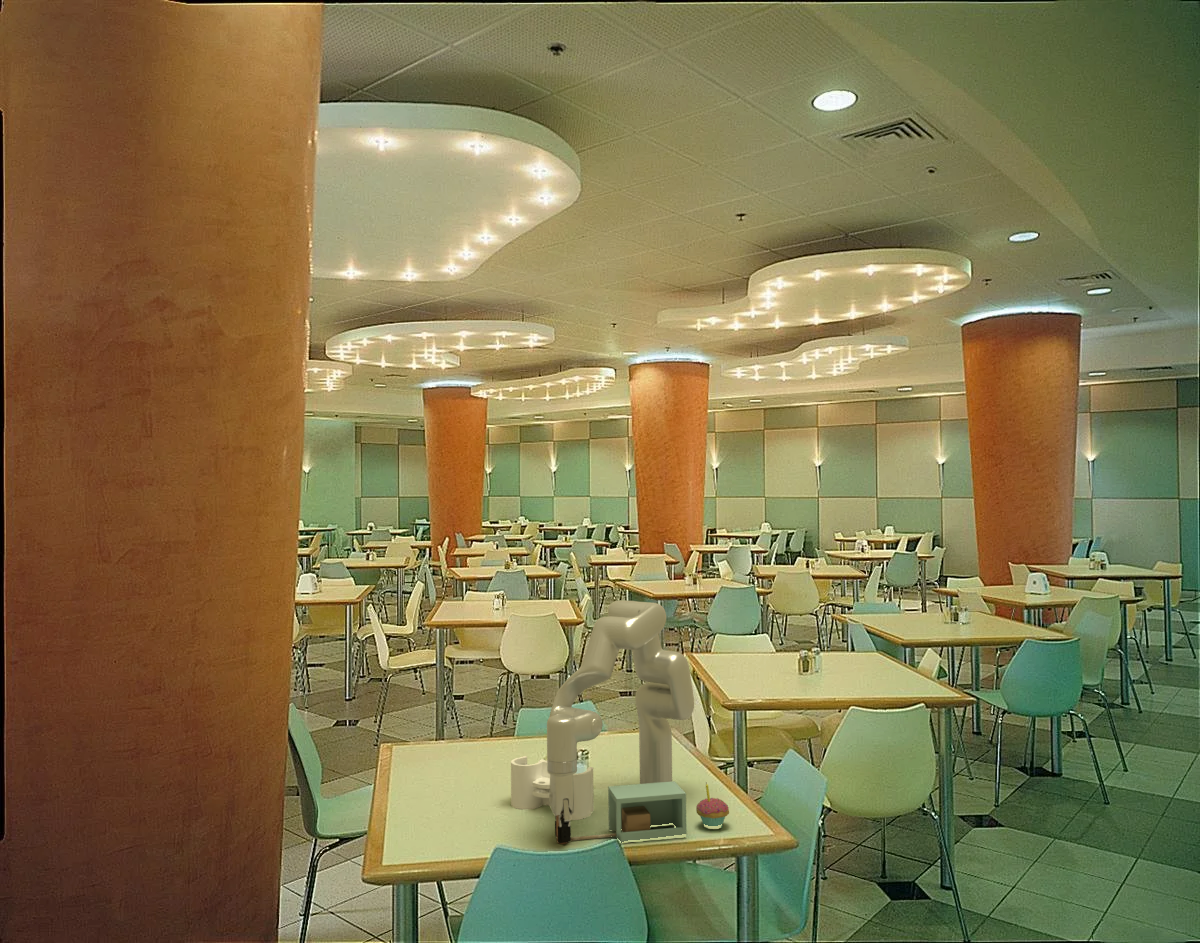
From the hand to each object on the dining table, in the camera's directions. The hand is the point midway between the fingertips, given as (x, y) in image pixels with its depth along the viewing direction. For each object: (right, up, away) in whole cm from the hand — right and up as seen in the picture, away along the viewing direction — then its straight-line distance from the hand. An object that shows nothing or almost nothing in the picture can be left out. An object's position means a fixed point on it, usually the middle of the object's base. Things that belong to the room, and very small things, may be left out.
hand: (562, 838), depth 226 cm
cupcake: (+39, -1, +9) cm, 40 cm away
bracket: (-5, -2, +24) cm, 24 cm away
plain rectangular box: (+21, -1, +4) cm, 22 cm away
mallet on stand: (+10, -1, +2) cm, 10 cm away
